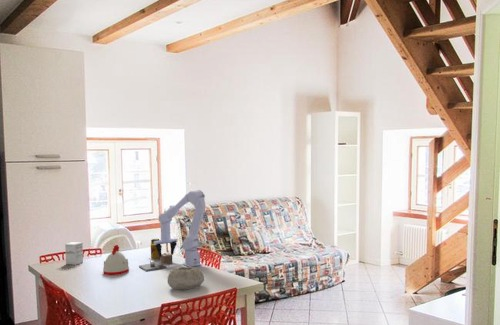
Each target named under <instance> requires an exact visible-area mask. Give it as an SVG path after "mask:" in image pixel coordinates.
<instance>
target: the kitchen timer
mask: <svg viewBox="0 0 500 325" xmlns="http://www.w3.org/2000/svg"><path fill="white" fill-rule="evenodd" d="M102 271H103V272H102V273H103V275H105V274H106V275H105V276H119V274H120V275H124V274H126V273H128V272H129V271H130V267H129V259H128V258H126V257H125V255H124V254H123V253H122V252H121V251H120V246H119V245H118V244H116V245H113V248H112V251H111V252H110V253H109V255H108V256H107V257H106V259H105V260H103V270H102Z"/></svg>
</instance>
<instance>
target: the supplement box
mask: <svg viewBox="0 0 500 325" xmlns="http://www.w3.org/2000/svg"><path fill="white" fill-rule="evenodd" d="M64 245H65V249H64V250H65V265H73V266H76V265H79V264H82V263H83V262H84V252H83V251H84V250H83V247H84V246H83V242H80V241H79V242H78V241H71V242H68V243H65V244H64Z"/></svg>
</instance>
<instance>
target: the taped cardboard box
mask: <svg viewBox="0 0 500 325" xmlns="http://www.w3.org/2000/svg"><path fill="white" fill-rule="evenodd" d="M160 258H161V259H160V263H161V264H163V265H167V264H172V263H173V255H172V254H171V252H163V253H161V257H160Z"/></svg>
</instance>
